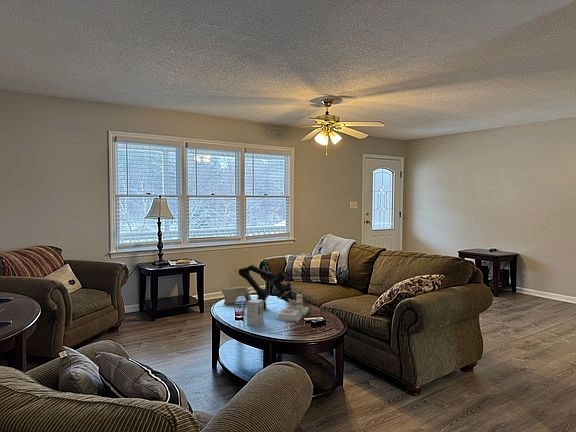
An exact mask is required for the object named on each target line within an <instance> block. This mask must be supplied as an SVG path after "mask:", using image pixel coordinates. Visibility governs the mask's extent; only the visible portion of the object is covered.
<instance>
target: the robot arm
mask: <svg viewBox="0 0 576 432" xmlns="http://www.w3.org/2000/svg"><path fill="white" fill-rule="evenodd" d="M250 272H253V273H255V274H257V275H260V276H261V277H264V279H265V280H267V281H269V282H270V283H269V285H270V286H272V285H273V286H274V288H275V289H276V291H278V292H279V293H277V295H276V298H277V299H280V300H283V301H284V302H287V303H290V300H289V299H291V300H295V299H294V296H293V292H292V290H293V289H292V282H290V281H287V282H286V283H285V284H284V281H285V280H287V278H288V275H287V274H286V273H285V272H283V271H280V272H279V273H278V274H275V272H272V271H266V270H264V269H261V268H259V267H257V266H255V265H254V264H251V265H249V266H247V267H242V268H239V270H238V275H239V276H240V277H241V278H243V279H245V280H246V282H247V283H248V284H249V285H250V286H251V287H252V288H253V289H254V291H255V292H256V295H257V298H256V299H258V300H264V310H265V309H267V300H268V299H267V298H268V297H269V292H268V291H267V289H266V288H261V286H260V285H259V284H258V283H257V282H256V280H255V279H254V278H253V277H252V276H251V274H250Z"/></svg>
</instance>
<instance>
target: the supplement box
mask: <svg viewBox="0 0 576 432" xmlns="http://www.w3.org/2000/svg"><path fill="white" fill-rule="evenodd" d="M264 311H265V309H264V300H258V299H257V298H251V300H250V301H247V304H246V325H247V326H248V325H249V326H254V327H259V326H261V325H262V324H263V323H264V320H265V317H264V315H265V313H264Z"/></svg>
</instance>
